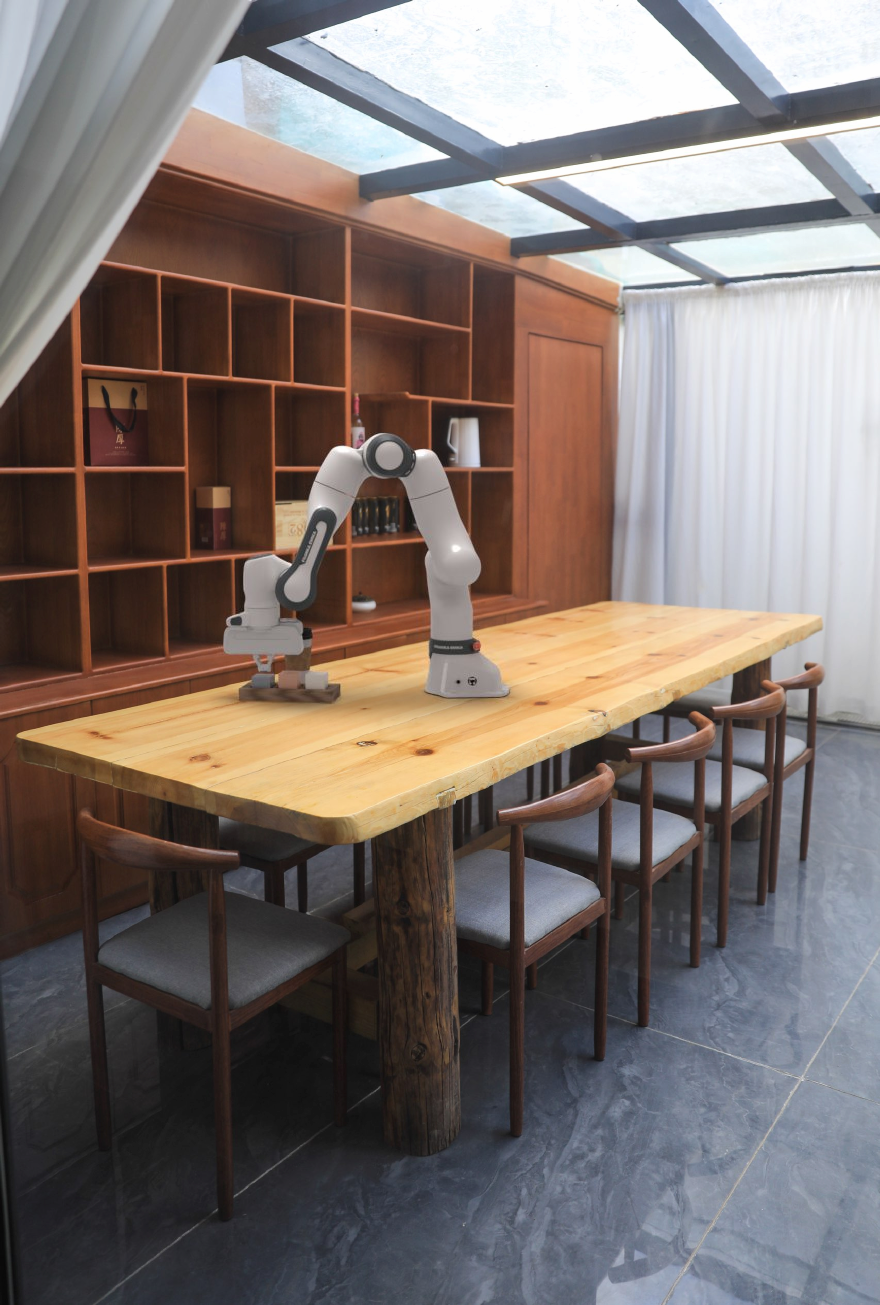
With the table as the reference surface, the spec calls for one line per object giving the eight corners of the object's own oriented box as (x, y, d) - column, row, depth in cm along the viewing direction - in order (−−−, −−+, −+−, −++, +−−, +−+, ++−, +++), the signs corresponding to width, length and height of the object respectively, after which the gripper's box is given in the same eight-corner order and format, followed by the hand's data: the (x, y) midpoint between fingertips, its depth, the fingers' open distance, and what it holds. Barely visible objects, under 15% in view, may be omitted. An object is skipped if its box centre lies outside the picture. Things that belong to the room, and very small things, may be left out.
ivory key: (328, 686, 261) (328, 671, 261) (324, 690, 257) (323, 675, 256) (310, 686, 262) (309, 671, 261) (305, 690, 257) (305, 674, 257)
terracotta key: (301, 686, 262) (301, 670, 262) (297, 689, 257) (296, 674, 257) (283, 685, 263) (283, 670, 262) (278, 689, 258) (278, 673, 257)
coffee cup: (307, 685, 276) (306, 631, 273) (278, 684, 277) (277, 630, 275) (317, 680, 284) (316, 626, 281) (288, 678, 285) (287, 625, 283)
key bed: (340, 694, 264) (340, 683, 264) (332, 703, 254) (332, 691, 254) (250, 692, 267) (250, 681, 266) (238, 700, 257) (238, 688, 256)
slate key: (275, 689, 263) (274, 674, 262) (270, 693, 258) (269, 677, 258) (257, 688, 264) (256, 673, 263) (251, 692, 259) (251, 677, 258)
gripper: (305, 616, 260) (307, 669, 262) (227, 616, 262) (230, 668, 265) (299, 619, 254) (301, 674, 256) (219, 619, 256) (222, 673, 258)
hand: (264, 671), depth 260 cm, fingers closed
